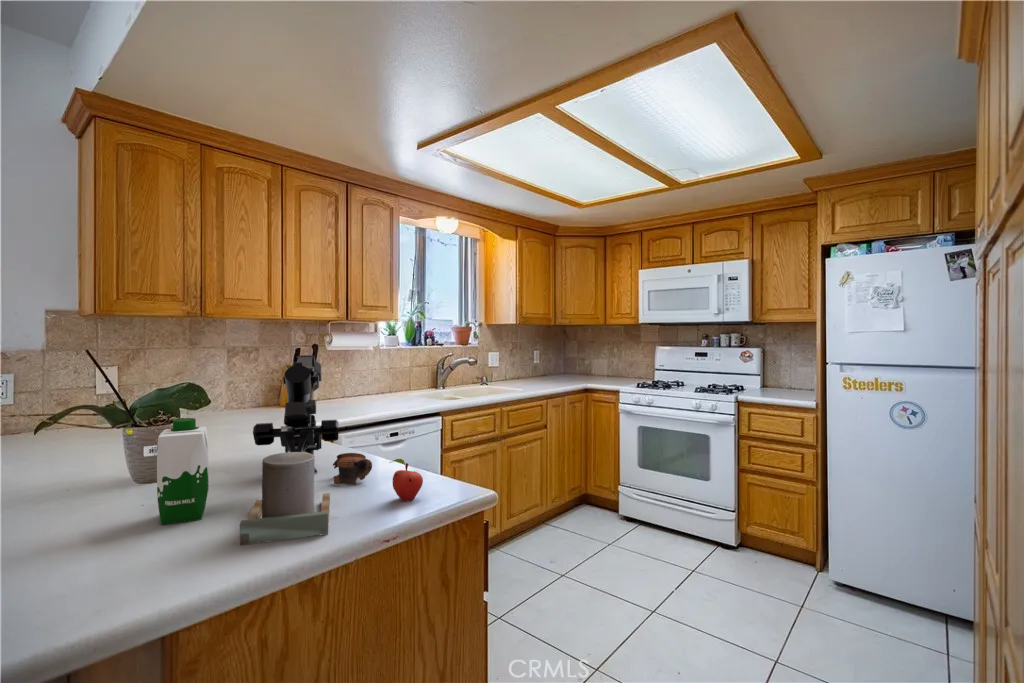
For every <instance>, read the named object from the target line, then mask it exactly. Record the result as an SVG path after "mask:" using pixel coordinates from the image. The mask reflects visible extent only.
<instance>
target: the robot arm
mask: <svg viewBox="0 0 1024 683" xmlns="http://www.w3.org/2000/svg"><path fill="white" fill-rule="evenodd" d="M322 373H323V372H322V364H321V363H319V361H317V360H316V358H315V355H311V354H310V355H309V354H307V355H306V354H305V355H304V354H302V355H298V356H297V355H296V361H294V363H293V364H292V365H291V366H290V367H288V368H287V369H286V370H285V372H284V375H283V378H282V380H283V385H284V386H285V390H286V393H287V402H285V404H284V416H283V424H284V425H282V426H280V428H274V424H273V422H260V423H256V424H255V425H253V427H252V429H253V430H252V436H253V439H254V444H255V445H256V446H271V445H272V444H273V443H274V442H275V438H279V439H280V445H281V447H284V453H286V452H287V451H289V452H307V453H310V454H313V455H314V454H315V451H319V450H322V440H323V441H324V442H335V441H338V440H339V421H338V419H322V420H321V425H317V420H316V417H315V415H316V414H317V399H313V398H314V392H315V391H316V390H318V389H319V388H320V382H322ZM314 456H315V455H314ZM316 473H318V470H317V469H316V467H315V466H314V474H316Z"/></svg>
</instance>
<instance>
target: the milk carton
mask: <svg viewBox="0 0 1024 683" xmlns="http://www.w3.org/2000/svg"><path fill="white" fill-rule="evenodd" d="M196 420H197V419H196V418H194V417H192V418H191V417H185V418H176V419H174V420H172V428H167V429H164V430H162V432H160V433H159V435H158V437H157V443H156V450H155V451H156V452H157V454H156V492H157V493H156V494H157V495H156V496H157V497H156V498H157V505H158V512H159V522H160V526H165V525H171V524H177V523H178V522H179V523H186V522H192V520H193V521H197V520H198V521H199V519H200V520H202V519H203V516H204V512H205V509H206V504H207V500H208V499H207V498H208V494H209V437H208V429H207V426H197V425H196V424H197V423H196ZM179 523H178V524H179Z"/></svg>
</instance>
